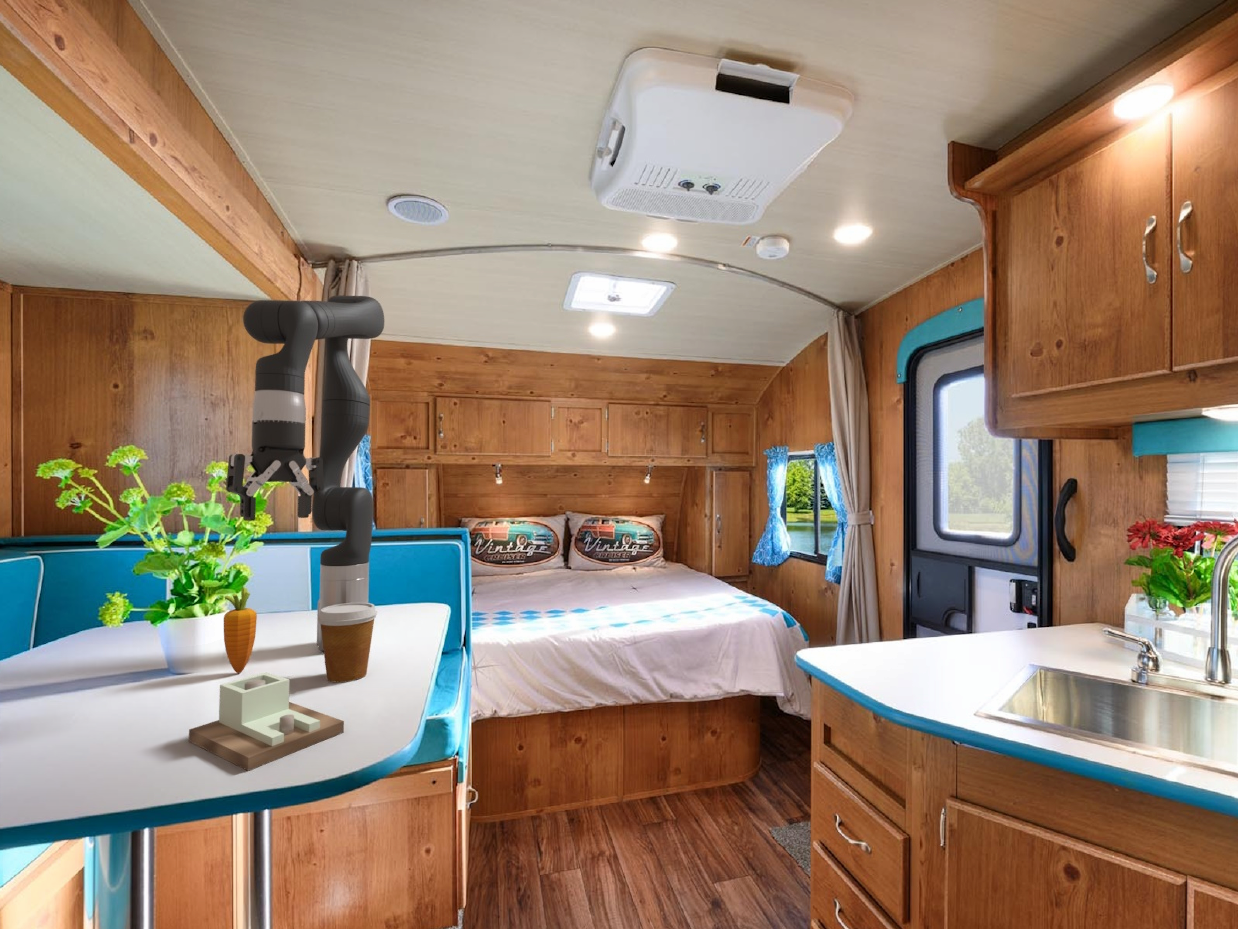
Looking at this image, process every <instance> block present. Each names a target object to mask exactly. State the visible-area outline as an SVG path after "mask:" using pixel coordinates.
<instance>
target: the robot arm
mask: <svg viewBox="0 0 1238 929" xmlns="http://www.w3.org/2000/svg"><path fill="white" fill-rule="evenodd" d="M384 313H385V312H384V309H383V307H382V305H381V303H380V302H379V300H377V299H376V298H373V297H371V296H367V295H343V294H342V295H332V296H330V297H329V298H328V300H327V301H324V300H323V301H322V300H281V299H280V300H279V299H278V300H277V299H276V300H273V299H272V300H269V299H268V300H267V299H262V300H261V299H260V300H259V299H258V300H256V301H253V302H251V303H250V304H249V305H247V307H246V308H245V310H244V311H243V315H242V323H243V327H244V329H245V330H246V332H247V334H248V335H249V336H250V337H251V338H253V339H254V340H255V341H257V342H260V343H262V344H263V343H264V344H267V345H268V344H271V345H274V344H275V345H276V344H278V345H281V344H282V345H283V346H282V347H281V348H280V350H279V351H278V352H276V353H273V354H270V355H269V354H268V355H265V356H262V357H259V358H258V360H257V361H256V363H255V371H254V372H255V373H254V374H255V376H254V378H255V380H254V381H255V382H254V383H255V384H254V396H253V402H252V415H251V416H252V417H251V418H252V419H251V420H252V422H251V423H252V424H251V450H252V451H251V453H250V455H246V454H243V453H232V454H230V455H229V456H228V463H227V473H226V483H225V484H226V485H225V491H226V492H227V493H231V494H234V495H238V497H239V499H240V501H239V502H240V504H239V515H240V517H241V518H242V519H243V520H244V521H247V522H249V521H250V522H252V521H255V520H256V509H257V508H256V506H257V505H256V504H257V503H256V502H257V497H256V496H254V495H255V494H256V493H257V492H258V490H260V488H261V487H263V486H264V485H265V484H266V483H278V482H279V483H289V484H290V485H291V486H292V487H294V489H295V490H296V492H297V493H298V494H299V495H297V518H299V519H308V518H309V516H310V515H311V514H312V520H313V523H314V525H315V527H316V528H317V529H318V530H321V531H326V532H328V531H329V532H331V531H332V532H336V531H337V532H343V531H345V532H346V533H345V537H344V539H343V541H342V542H340V543H339V544H337V545H334V546H331V547H329V548H326V549H323V550H322V551H321V553H320V558H319V560H320V562H319V563H320V568H319V569H320V572H319V599H318V601H317V618H316V619H317V621H316V626H317V627H316V646H317V647H318V650H320V651H323V652H324V649H323V641H322V633H321V624H320V623H319V620H318V616H320V612H321V609H323V608H325V607H328V606H332V605H337V604H345V603H369V590H370V589H369V588H370V587H369V582H370V576H369V575H370V573H369V571H370V552H371V549H372V548H371V547H372V536H373V525H374V524H373V523H374V500H373V495H372V493H371V491H370V490H368V489H367V488H366V487H361V486H360V487H357V486H355V487H352V486H351V487H350V486H349V487H348V486H343V487H342V486H341V484H342V477H343V476H342V475H343V472H344V468H345V467H346V464H347V462H348V460H349V458H350V457H351V455H352V454H353V453H354V451H356V449H357V448H358V446H359V445H360V443H361V442H362V440H363V439H364V437H365V436H366V434H367V431H368V429H369V426H370V425H369V424H370V414H371V413H370V411H371V410H370V409H371V398H370V395H369V393H368V392H369V391H368V390H367V388H366V386H365V384H364V383H363V381H362V379H361V378H360V377H359V375H358V374H357V372H356V370H355V369H354V366H353V364H352V362H351V360H350V357H349V352H348V340H349V339H354V340H355V339H356V340H371V339H375V338H378V337H380V336H381V334H382V333H383V331H384V327H385V314H384ZM318 340H325V341H324V342H325V344H324V345H325V369H324V370H325V372H324V386H323V396H322V406H321V409H322V410H321V432H320V433H321V435H320V445H319V446H320V447H319V448H320V449H319V457H318V456H315V457H307V458H306V456H305V453H304V451H305V448H306V420H307V416H306V415H307V414H306V413H307V412H306V411H307V408H306V402H305V401H306V400H305V390H306V389H305V384H306V382H305V381H306V377H305V376H306V375H305V374H306V370H307V369H306V368H307V365H308V363H309V359H310V355H311V353H312V350H313V347H314V345H315V342H316V341H318ZM248 465H250V466H251V467H252V469H253V472H252V473H251V474H250V475H249V476H248V478H247V479H246V482H245V483H244V475H245V469H246V468H248ZM304 467H305V468H306V469H307V470H308V478H307V477H306V476H305V474H304V472H303V471H302V470H303V469H304Z"/></svg>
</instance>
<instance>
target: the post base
mask: <svg viewBox="0 0 1238 929" xmlns="http://www.w3.org/2000/svg"><path fill="white" fill-rule="evenodd" d="M262 685H265V680H253V681H249V682H247V683H245V687H244V690H248V689H252V688H255V687H259V686H262ZM289 709H290V710H293V711H296V712H298V713H301V714H304V715H306V716H309V717H312V718H314V719H317V720H320V728H319V729H317V730H314V731H311V732H307V731H305V730H302V729H300V728H297V727H295V726H294V715H284V716H282V717H280V728H279V730H277V731H279V732H281V733H284V742H282V743H280V744H277V745H274V746H271V745H268V744H266V743H264V742H262V741H259V740H257V739H255V738H253V737H251V736H248V735H246V734H244V733H242V732H239V731H237V730H235V729H233V728H230V727H228V726H226V725H224V724H222V723H219V719H218V720H215V721H211V722H208V723H205V724H202V725H199V726H197V727H193V728H190V729H188V730H189V731H188V742H190V743H192V744H194V745H195V746H197V747H200V748H202V749H204V750H206V751H208V752H210V753H212V754H213V755H216V756H218V757H220V758H222V759H224V760H226V761H227V762H230V763H233V764H234V765H236V766H238V767H240V768H242V769H244V770H246V771H248V772H249V771H251V770H254V769H256V768H258V767H261V766H264V765H266V764H268V763H271V762H274V761H277V760H279V759H281V758H283V757H286V756H289V755H291V754H293V753H296V752H299V751H300V750H303V749H306V748H308V747H310V746H313V745H315V744H319V743H320V742H323V741H325V740H328V739H331V738H333V737H335V736H338V735H340V733H341V734H343V733H344V731H345V730H344V727H345V724H344V722H345V720H341V719H339V718H337V717H333V716H330V715H328V714H325V713H323V712H322V713H321V712H319V711H316V710H315V709H311V708H308V707H305V706H302V705H299V704H297V703H293V702H290V701H289ZM342 732H343V733H342Z"/></svg>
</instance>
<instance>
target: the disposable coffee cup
mask: <svg viewBox="0 0 1238 929" xmlns="http://www.w3.org/2000/svg"><path fill="white" fill-rule="evenodd" d="M377 614H378V611H377V610H376V607H375V604H373V603H370V602H368V603H345V604H337V605H332V606H328V607H325V608H323V609H321V612H320V616H318V620H319V623H320V624H321V633H322V641H323V649H324V651H323V656H324V665H325V673H326V680H327V681H328V682H332V683H345V681H347V682H353V681H355V680H356V679H357V680H359V678H360V679H362V678H364V677H365V676H366V675H367V672H368V666H369V659H370V652H371V644H372V637H373V630H374V623H375V619H376V618H377ZM357 680H356V681H357Z"/></svg>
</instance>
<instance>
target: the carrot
mask: <svg viewBox="0 0 1238 929" xmlns="http://www.w3.org/2000/svg"><path fill="white" fill-rule="evenodd" d="M240 590H241V592H240V594H241V595H240V596H241V597H240V599H239V595H238V594H237V593H233V594H232V596H230V595H227V594H226V595H225V596H224V599H225V600H227V601H229V602H230V603H231V604H232V606H233V607H234V609H231V610H229V611H227V612H226V613H225V614H224V616H223V642H224V647H225V648H224V649H225V652H226V657H227V660H228V662H229V664H230V666H231V667H232V669H233V671H234V672H235V673H236V674H238V675H239V674H241V673H242V672H243V671H244V670H245V668H246V666H247V664H248V662H249V660H250V658H251V655H252V653H253V652H252V651H253V648H254V644H255V641H256V632H257V619H258V618H257V611H255V610H254V609H252V608H249V607H248V608H247V607H246V606H247V602H248V599H249V597H250V595H251V593H250V591H249V590H248V588H247V587H242V588H241V589H240Z"/></svg>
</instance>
